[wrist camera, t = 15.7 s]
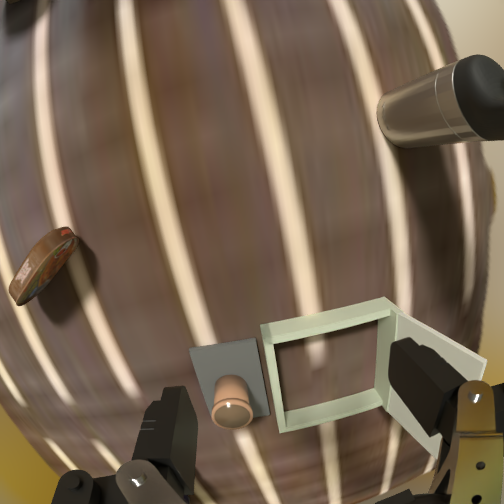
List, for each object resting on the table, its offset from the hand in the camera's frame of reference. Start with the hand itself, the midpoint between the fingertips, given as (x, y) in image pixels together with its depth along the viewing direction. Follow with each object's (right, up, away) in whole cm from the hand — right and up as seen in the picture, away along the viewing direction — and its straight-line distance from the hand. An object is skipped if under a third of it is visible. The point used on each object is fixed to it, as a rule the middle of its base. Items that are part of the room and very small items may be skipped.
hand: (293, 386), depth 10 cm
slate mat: (-5, -16, +34) cm, 38 cm away
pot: (-5, -16, +34) cm, 38 cm away
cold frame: (+12, -13, +35) cm, 40 cm away
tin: (-31, +4, +28) cm, 42 cm away
